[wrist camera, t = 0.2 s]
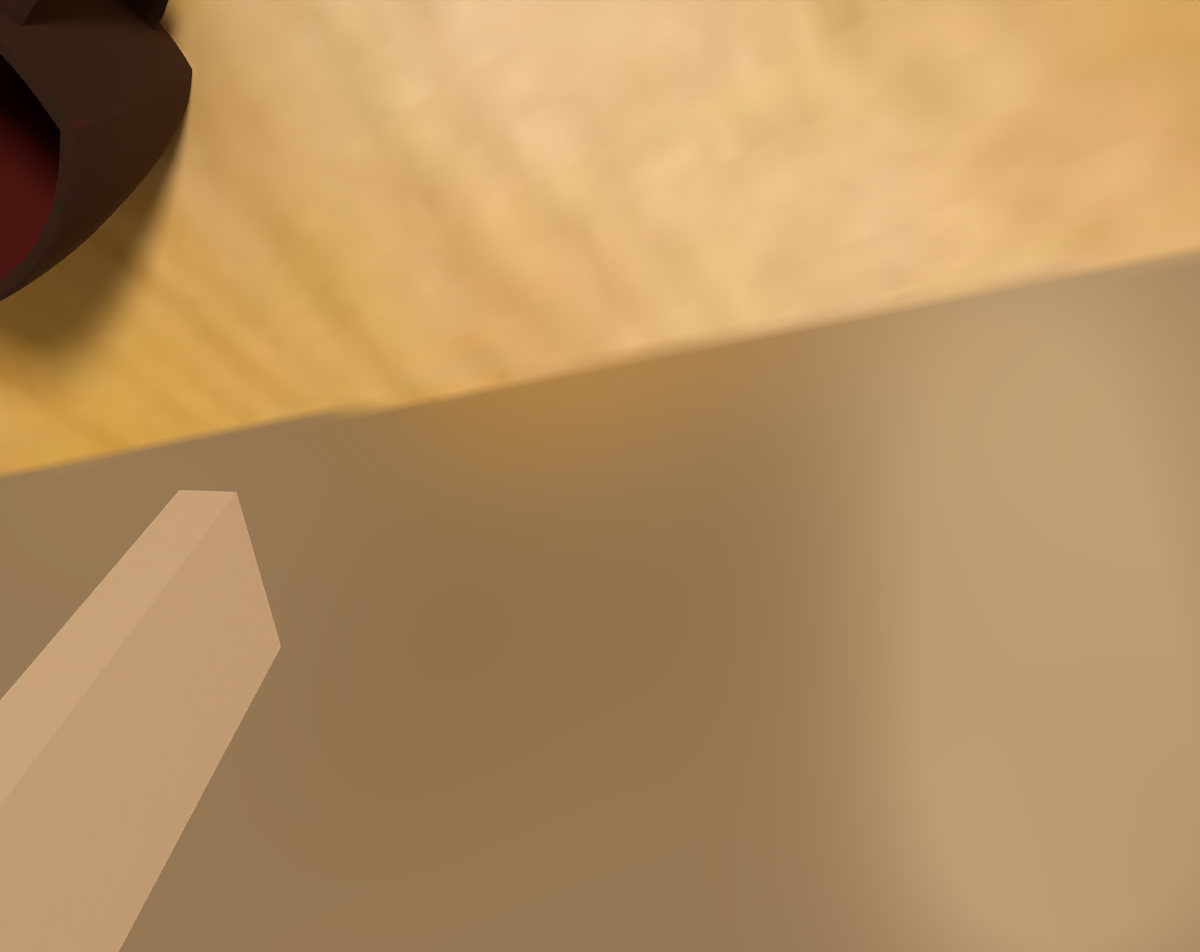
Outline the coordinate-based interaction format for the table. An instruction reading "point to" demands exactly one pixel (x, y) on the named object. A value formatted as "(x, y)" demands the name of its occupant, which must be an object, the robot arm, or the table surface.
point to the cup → (78, 120)
